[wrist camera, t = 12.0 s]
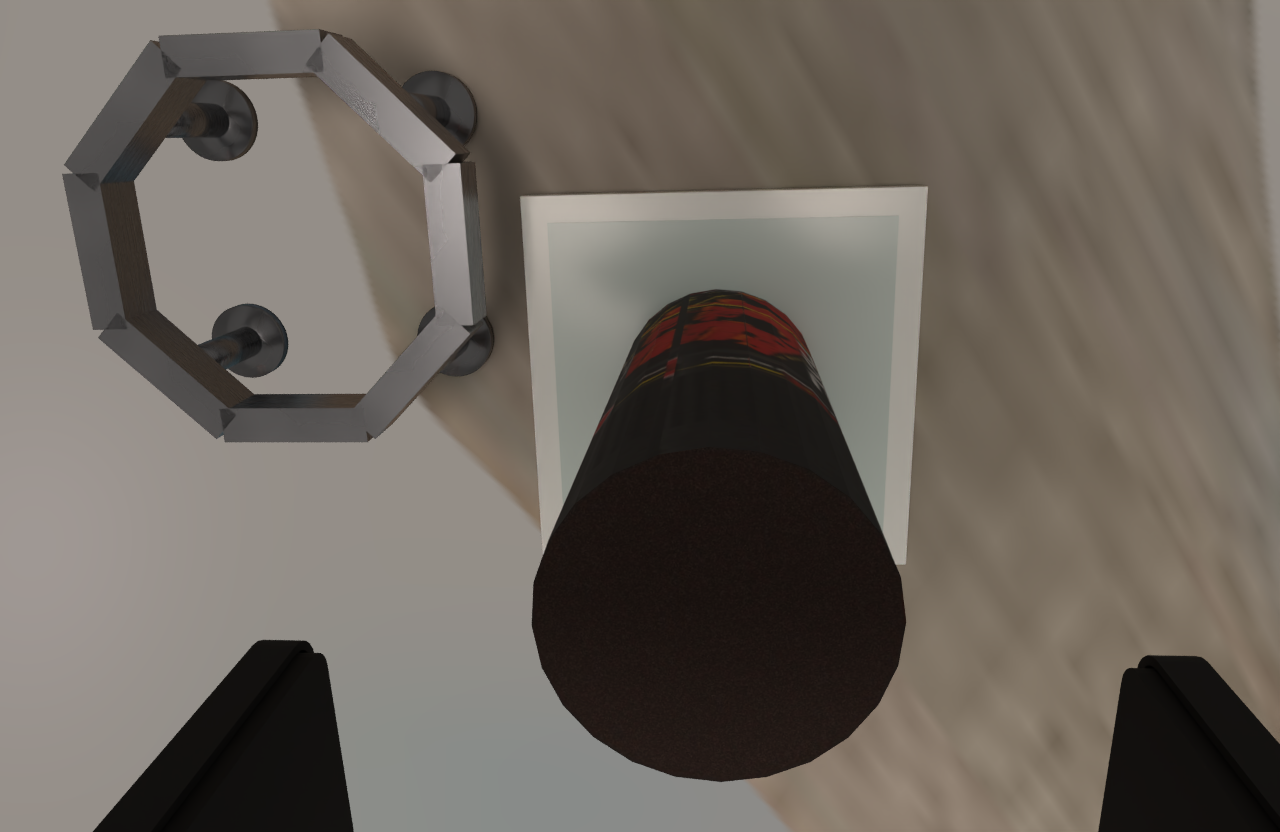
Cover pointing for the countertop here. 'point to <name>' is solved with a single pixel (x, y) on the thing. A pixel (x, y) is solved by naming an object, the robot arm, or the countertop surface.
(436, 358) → the ring stand
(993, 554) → the countertop surface
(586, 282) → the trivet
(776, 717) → the deodorant
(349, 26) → the countertop surface
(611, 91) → the countertop surface
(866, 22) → the countertop surface
